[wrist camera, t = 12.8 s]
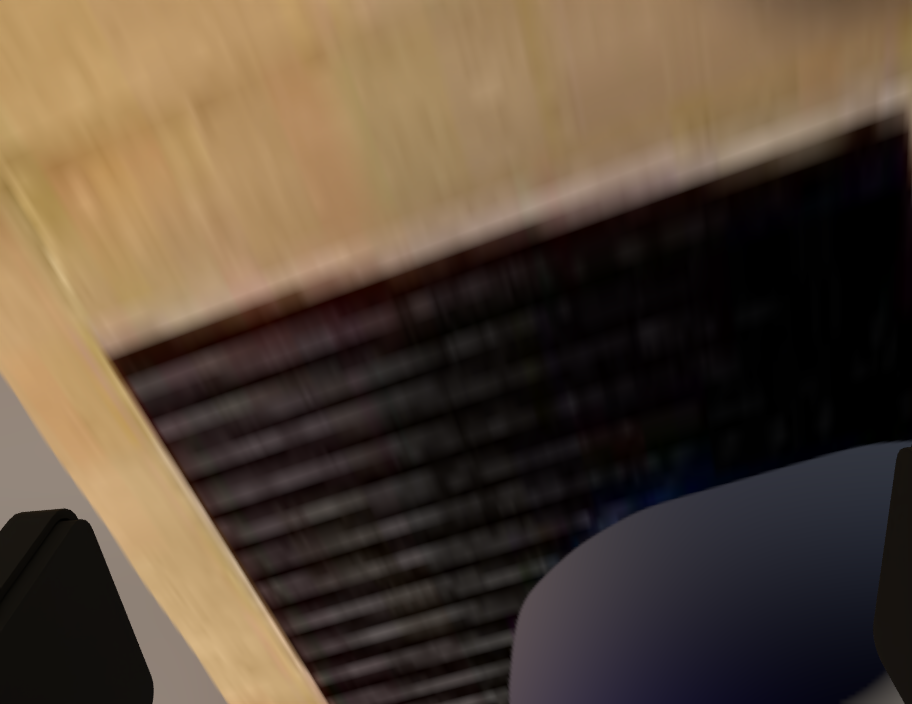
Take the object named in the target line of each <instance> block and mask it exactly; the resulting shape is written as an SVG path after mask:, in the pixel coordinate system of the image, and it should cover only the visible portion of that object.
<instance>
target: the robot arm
mask: <svg viewBox="0 0 912 704" xmlns="http://www.w3.org/2000/svg"><path fill="white" fill-rule="evenodd" d="M873 625H874V626H873V634H874V641H875V645H876V649H877V652H878V655H879V657H880V659H881V661H882V663H883V665H884V667H885V669H886V671H887V673H888V674H889V676H890V678H891V680H892V682H893V683H894V685H895V687H896V689H897V691H898V692H899V694H900V696H901V698H902V699H903V701H904V703H905V704H912V446H911V447H907V448H903V449H901V450H900V451H899V453H898V455H897V459H896V466H895V473H894V480H893V487H892V494H891V501H890V509H889V516H888V524H887V530H886V537H885V545H884V552H883V559H882V566H881V574H880V581H879V588H878V595H877V603H876V610H875V617H874V624H873ZM153 693H154V688H153V681H152V677H151V674H150V672H149V669H148V667H147V664H146V662H145V659H144V657H143V654H142V652H141V649H140V647H139V644H138V642H137V639H136V637H135V634H134V632H133V629H132V627H131V624H130V621H129V619H128V616H127V614H126V611H125V609H124V606H123V604H122V601H121V599H120V596H119V594H118V591H117V589H116V586H115V584H114V581H113V579H112V576H111V574H110V571H109V569H108V566H107V564H106V561H105V559H104V557H103V554H102V551H101V549H100V546H99V544H98V542H97V539H96V536H95V534H94V531H93V529H92V527H91V525H90V524H89V523H88V522H87V521H86V520H82V519H79V520H78V518H77V516H76V515H75V514H74V513H73V512H72V511H71V510H68V509H54V510H42V511H30V512H21V513H18V514H15V515H14V516H13V517H12V518H11V519H10V520H9V521H8V522H7V523H6V524H5V526H4V527H3V528H2V530H1V531H0V704H152V702H153Z"/></svg>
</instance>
